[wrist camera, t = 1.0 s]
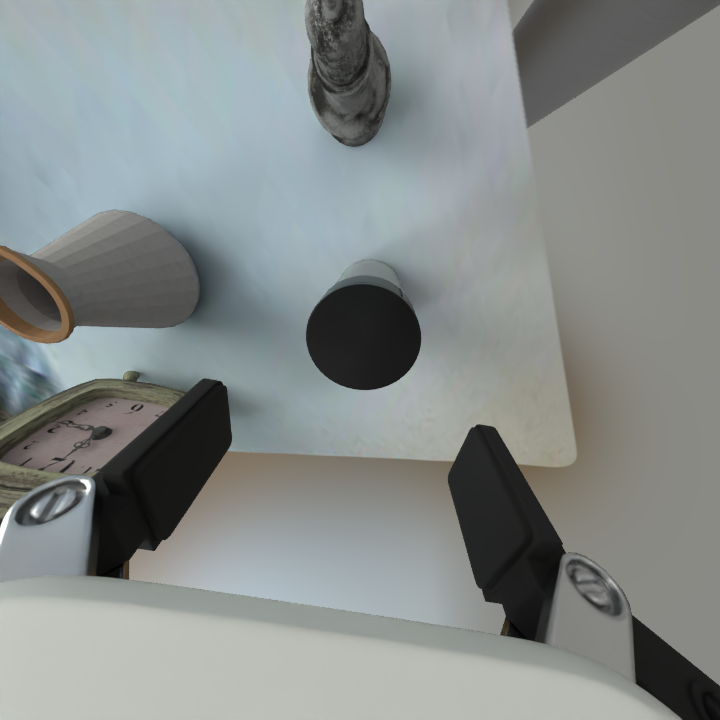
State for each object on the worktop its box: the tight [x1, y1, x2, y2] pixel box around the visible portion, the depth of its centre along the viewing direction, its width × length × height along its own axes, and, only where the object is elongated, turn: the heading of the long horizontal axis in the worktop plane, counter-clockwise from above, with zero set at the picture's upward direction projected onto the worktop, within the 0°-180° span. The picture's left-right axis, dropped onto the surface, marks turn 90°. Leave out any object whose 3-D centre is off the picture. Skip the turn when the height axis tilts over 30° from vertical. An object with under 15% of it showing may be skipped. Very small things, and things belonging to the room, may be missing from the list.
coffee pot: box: [0, 210, 200, 344], centre depth 22 cm, size 21×12×15 cm, turn 75°
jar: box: [336, 260, 405, 293], centre depth 23 cm, size 7×7×12 cm
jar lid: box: [306, 275, 421, 390], centre depth 18 cm, size 8×8×3 cm
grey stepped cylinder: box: [305, 0, 391, 146], centre depth 16 cm, size 6×6×12 cm
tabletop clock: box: [0, 371, 186, 519], centre depth 26 cm, size 14×9×25 cm, turn 79°
